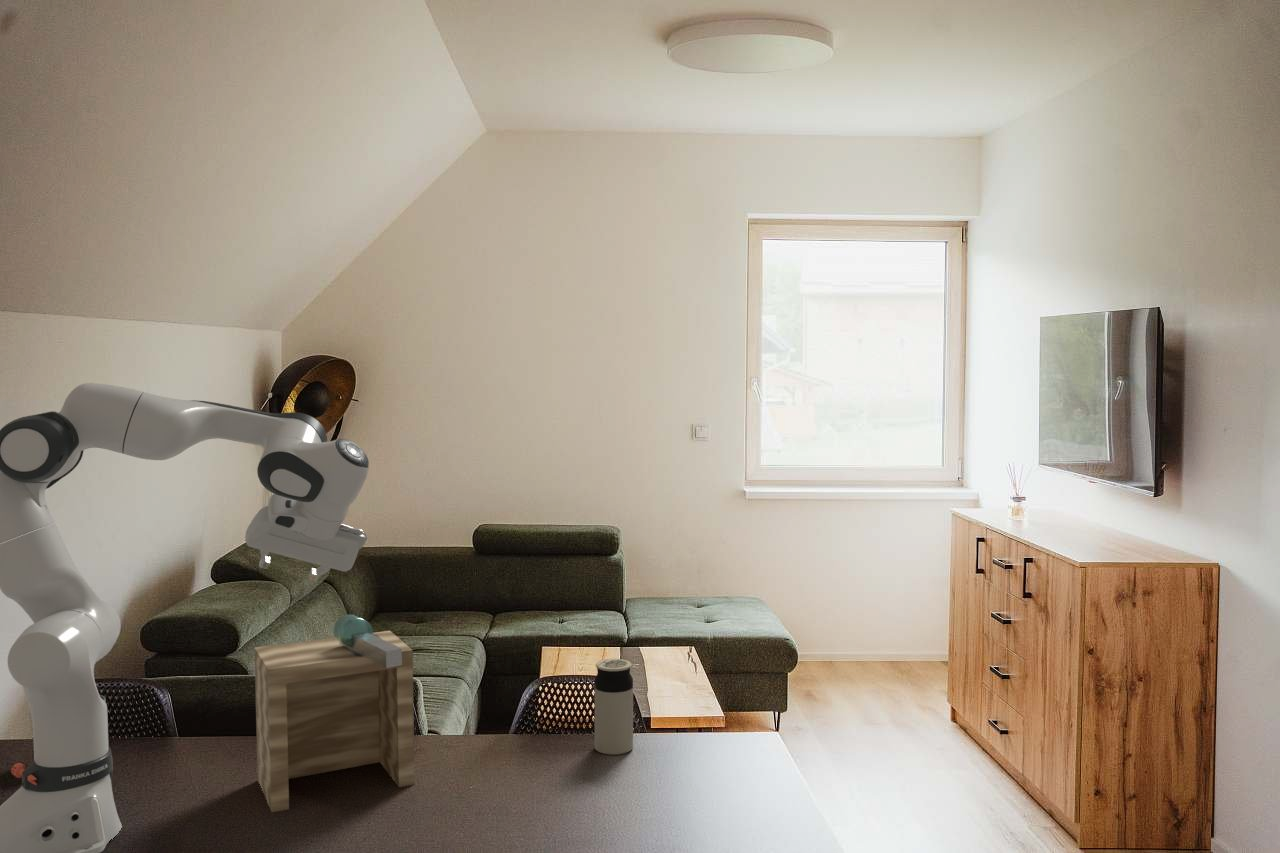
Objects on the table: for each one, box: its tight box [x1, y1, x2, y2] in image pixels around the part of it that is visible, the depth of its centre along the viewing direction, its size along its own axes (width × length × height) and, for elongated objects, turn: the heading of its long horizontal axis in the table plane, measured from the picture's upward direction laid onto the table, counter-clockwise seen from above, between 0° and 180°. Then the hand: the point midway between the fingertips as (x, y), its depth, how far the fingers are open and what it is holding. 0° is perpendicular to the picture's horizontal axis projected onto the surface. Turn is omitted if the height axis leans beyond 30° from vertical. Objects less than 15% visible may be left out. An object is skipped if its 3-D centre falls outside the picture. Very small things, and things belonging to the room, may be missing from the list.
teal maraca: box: [333, 614, 402, 668], centre depth 193 cm, size 20×6×6 cm, turn 39°
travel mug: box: [594, 658, 634, 756], centre depth 216 cm, size 8×8×18 cm
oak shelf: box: [254, 630, 415, 813], centre depth 199 cm, size 16×26×26 cm, turn 119°
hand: (287, 572), depth 196 cm, fingers open, 8 cm apart
